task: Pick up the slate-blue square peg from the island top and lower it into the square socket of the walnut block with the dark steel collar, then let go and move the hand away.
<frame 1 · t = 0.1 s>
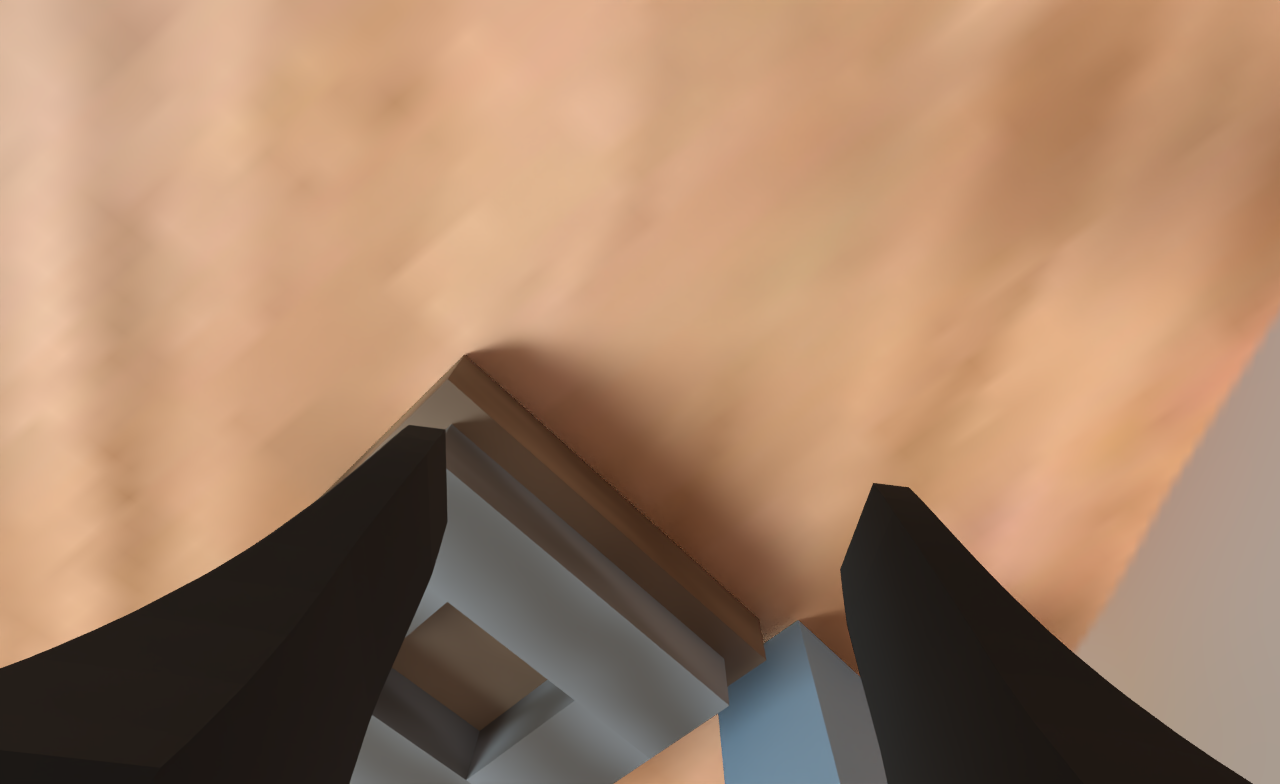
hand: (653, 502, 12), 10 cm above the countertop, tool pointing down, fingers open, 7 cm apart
blue peg: (790, 679, 28), on the countertop
socket block: (485, 611, 27), on the countertop
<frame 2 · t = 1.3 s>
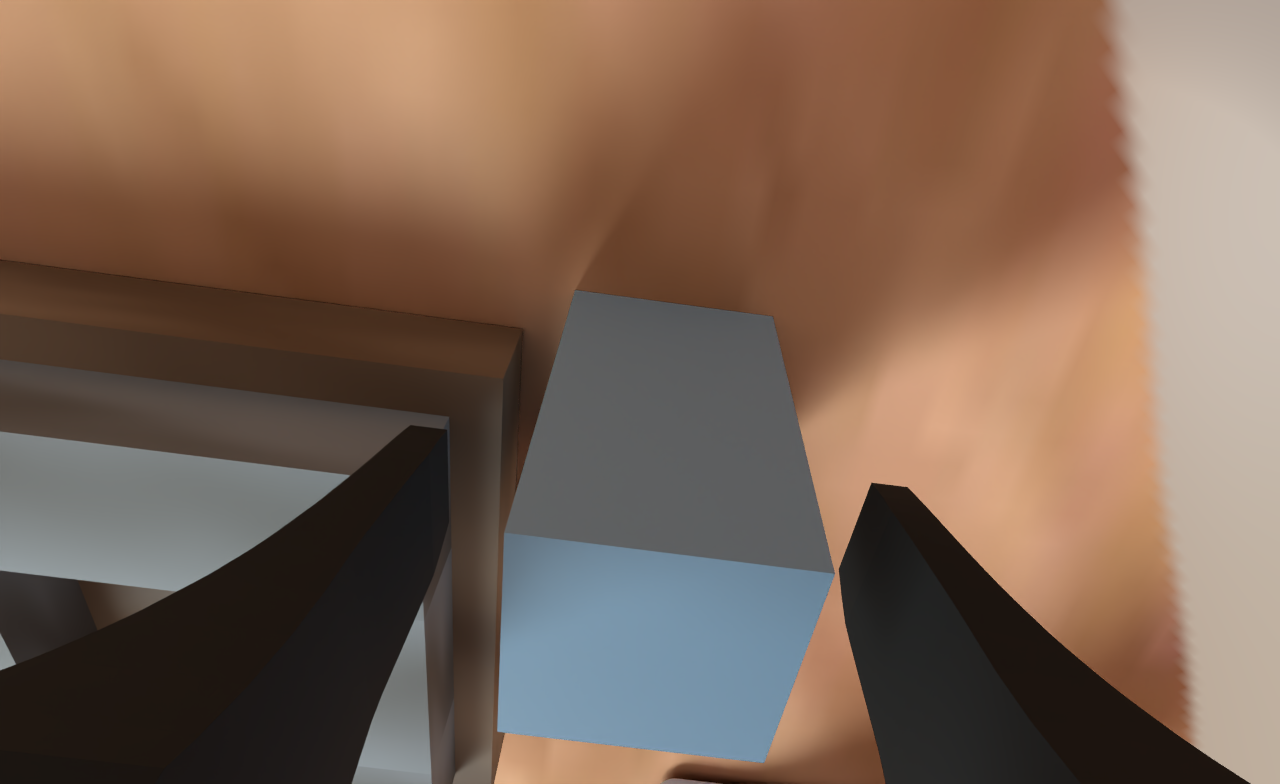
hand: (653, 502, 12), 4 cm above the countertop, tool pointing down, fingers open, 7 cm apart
blue peg: (660, 387, 16), on the countertop
socket block: (237, 536, 19), on the countertop
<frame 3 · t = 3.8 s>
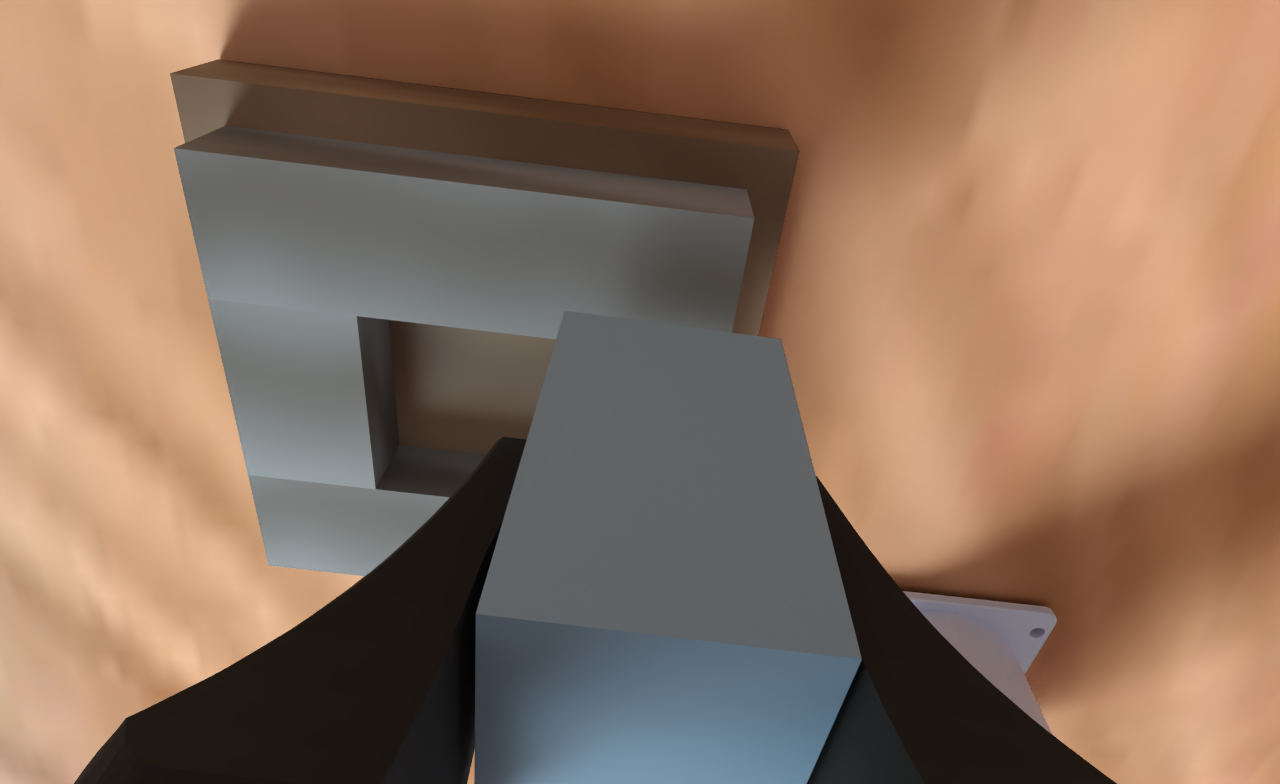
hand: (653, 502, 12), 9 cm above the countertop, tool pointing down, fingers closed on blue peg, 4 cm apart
blue peg: (658, 414, 15), point 7 cm above the countertop, touching gripper
socket block: (502, 344, 22), on the countertop
when the fingers open (5 cm above the countertop, at t = 5.6 s): blue peg stays where it is, resting on socket block.
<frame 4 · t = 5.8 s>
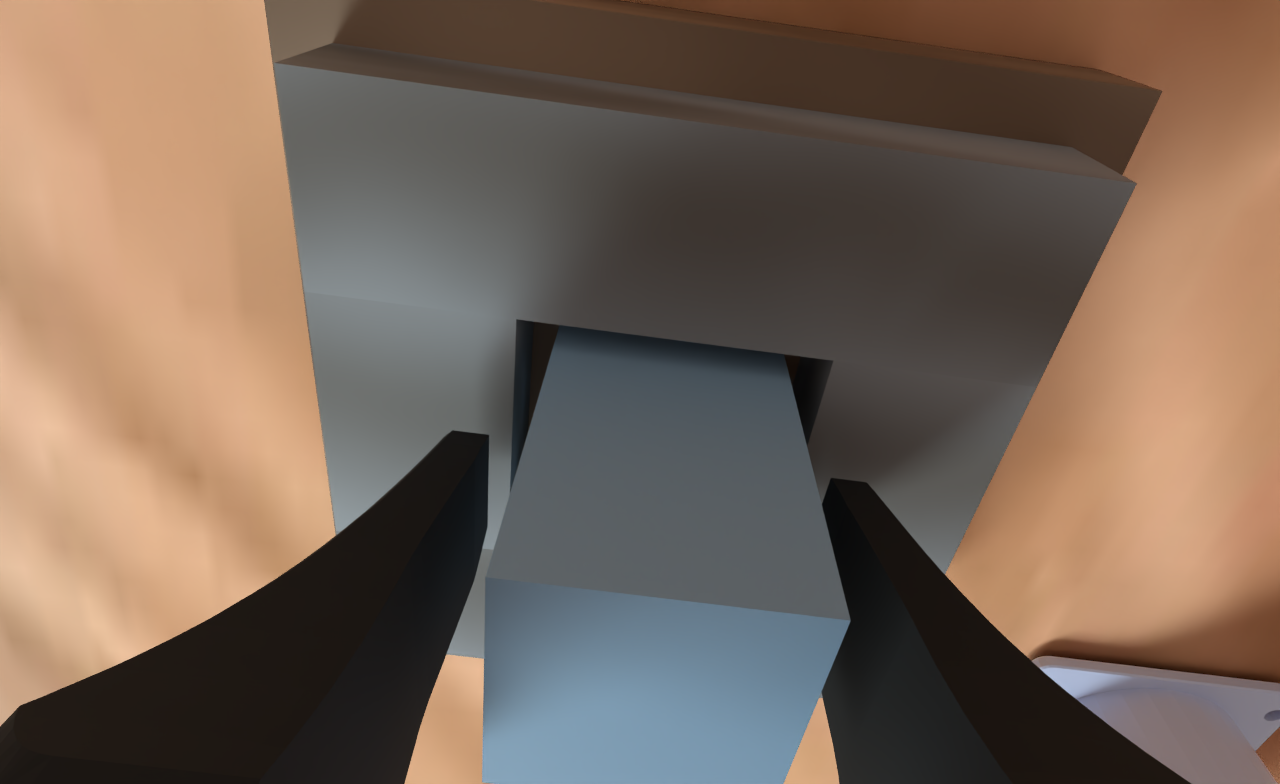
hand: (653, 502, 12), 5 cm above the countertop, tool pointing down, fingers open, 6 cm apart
blue peg: (658, 400, 15), point 2 cm above the countertop, touching socket block
socket block: (659, 356, 17), on the countertop
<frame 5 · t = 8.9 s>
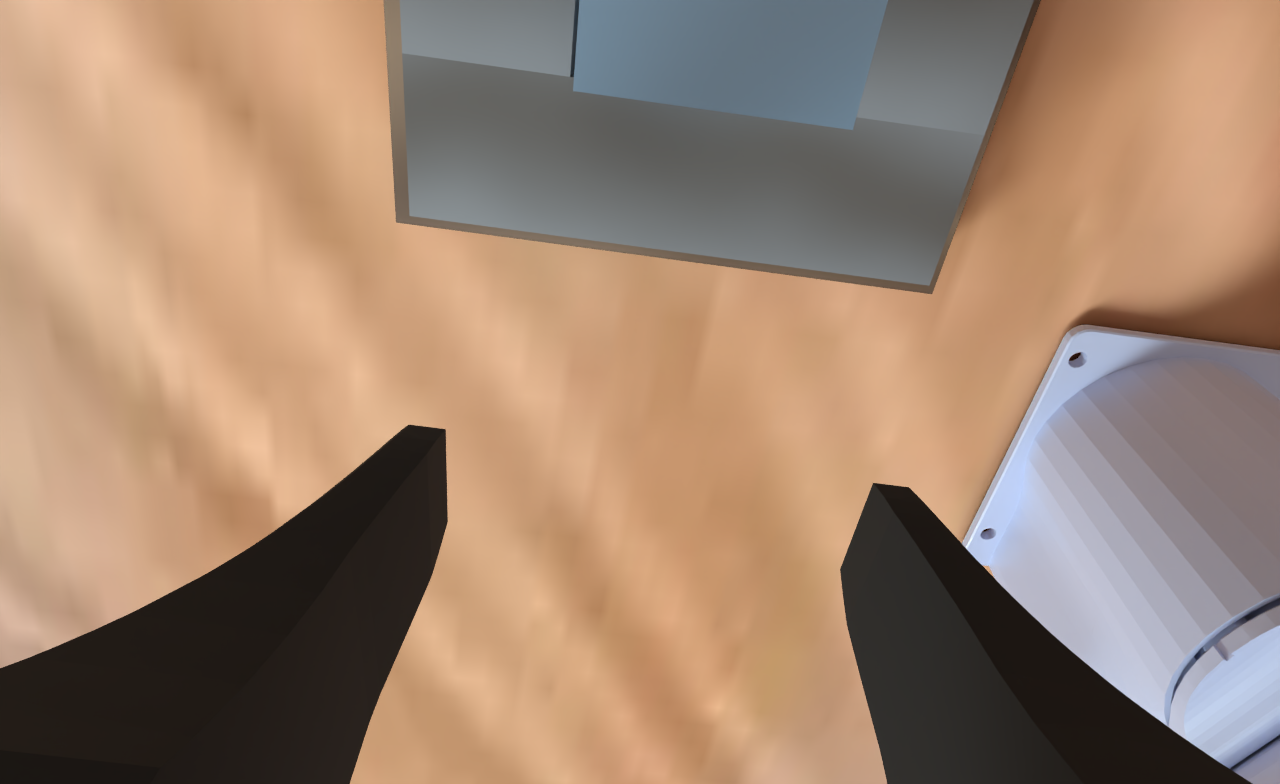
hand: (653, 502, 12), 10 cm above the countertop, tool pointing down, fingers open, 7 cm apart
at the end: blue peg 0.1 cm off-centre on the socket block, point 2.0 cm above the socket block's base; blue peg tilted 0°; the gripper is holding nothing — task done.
